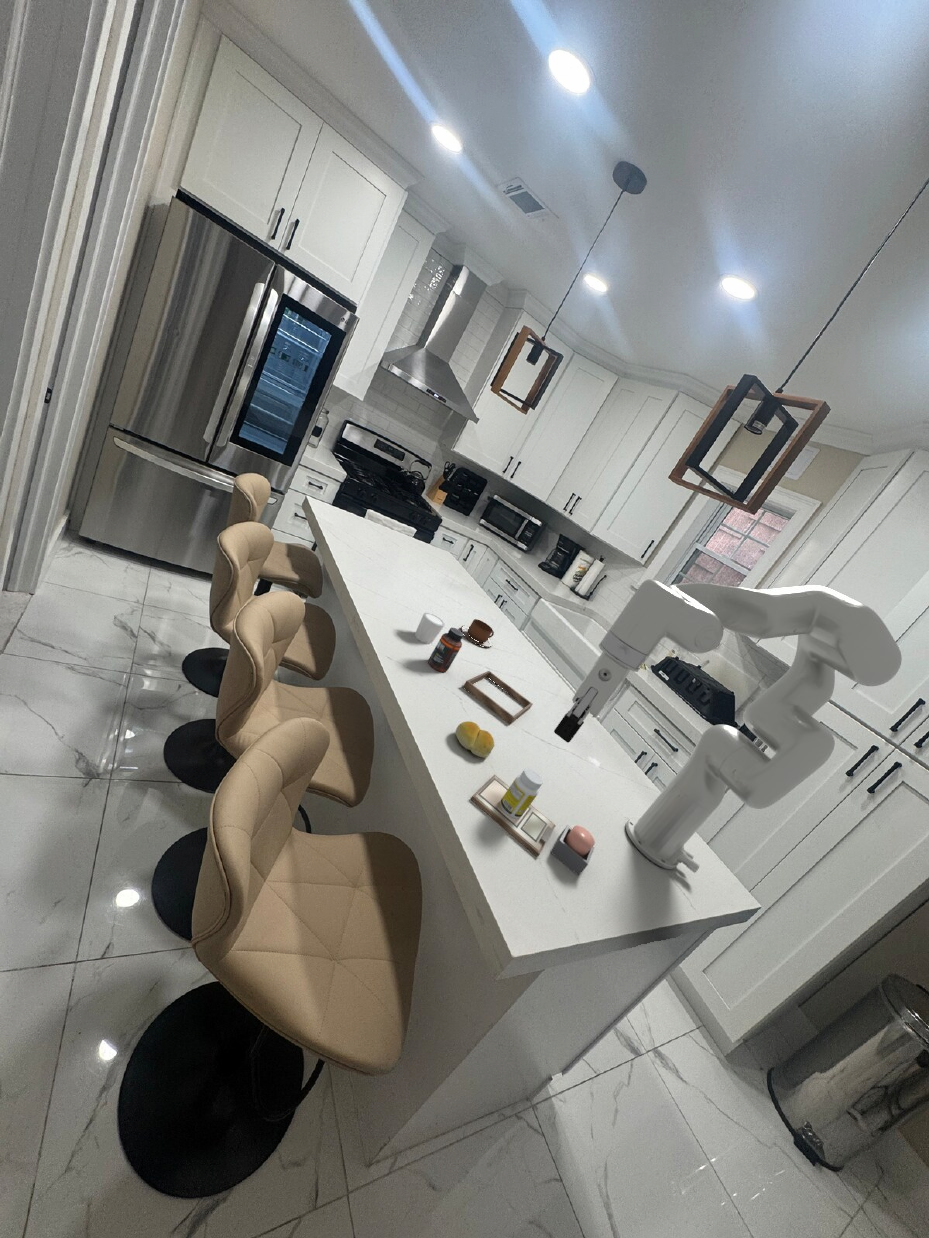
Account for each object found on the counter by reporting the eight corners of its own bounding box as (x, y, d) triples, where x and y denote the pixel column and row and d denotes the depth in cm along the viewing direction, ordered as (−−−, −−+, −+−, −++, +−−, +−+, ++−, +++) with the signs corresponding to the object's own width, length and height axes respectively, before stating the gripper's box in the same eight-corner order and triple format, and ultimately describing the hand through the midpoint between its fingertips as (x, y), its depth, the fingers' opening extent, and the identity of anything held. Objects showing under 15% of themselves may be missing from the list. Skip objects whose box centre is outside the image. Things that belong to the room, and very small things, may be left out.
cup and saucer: (471, 630, 176) (480, 615, 174) (495, 650, 170) (505, 635, 168) (451, 630, 166) (460, 614, 164) (477, 651, 160) (486, 636, 158)
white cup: (410, 629, 148) (421, 609, 146) (431, 636, 151) (442, 617, 149) (414, 640, 142) (426, 620, 140) (435, 648, 145) (447, 628, 143)
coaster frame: (528, 710, 140) (532, 703, 140) (510, 724, 126) (514, 718, 126) (485, 676, 145) (489, 670, 145) (462, 687, 131) (466, 680, 131)
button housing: (585, 858, 94) (594, 847, 93) (578, 875, 88) (588, 864, 88) (558, 836, 96) (567, 825, 95) (550, 851, 90) (559, 840, 89)
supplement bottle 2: (521, 806, 96) (544, 774, 93) (521, 823, 91) (546, 790, 89) (499, 795, 96) (522, 762, 93) (498, 811, 91) (522, 777, 89)
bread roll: (459, 724, 112) (469, 711, 111) (492, 749, 111) (502, 735, 110) (448, 737, 105) (458, 723, 104) (483, 764, 103) (494, 750, 102)
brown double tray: (553, 828, 97) (557, 822, 97) (537, 857, 87) (541, 851, 87) (492, 777, 102) (496, 771, 101) (470, 798, 92) (474, 792, 91)
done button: (587, 849, 93) (596, 838, 92) (582, 861, 89) (592, 849, 88) (567, 832, 94) (576, 821, 93) (562, 844, 90) (571, 832, 89)
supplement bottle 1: (448, 667, 138) (468, 634, 134) (445, 675, 132) (466, 640, 129) (429, 656, 138) (449, 622, 134) (425, 664, 132) (445, 629, 129)
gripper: (638, 672, 75) (570, 764, 80) (647, 657, 89) (589, 736, 94) (595, 643, 77) (532, 734, 82) (610, 633, 91) (556, 711, 96)
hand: (562, 735), depth 88 cm, fingers closed
